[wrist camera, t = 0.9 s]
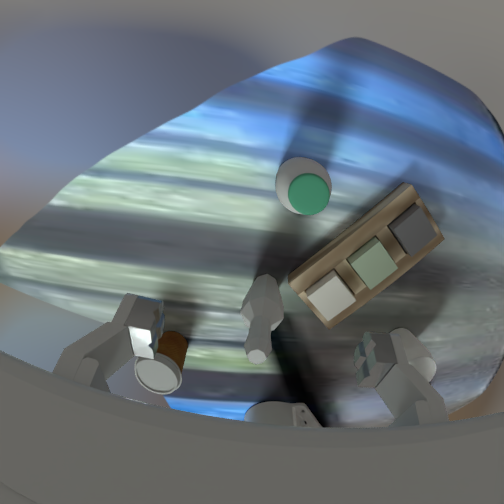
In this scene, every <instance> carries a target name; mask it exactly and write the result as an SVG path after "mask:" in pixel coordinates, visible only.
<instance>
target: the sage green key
mask: <svg viewBox="0 0 504 504" xmlns="http://www.w3.org/2000/svg"><path fill="white" fill-rule="evenodd" d="M347 259H348V261H349V262H350V264H351V265H352V267H353V268H354V269H355V271H356V272H357V273H358V274H359V276H360V277H361V278H362V280H363V281H364V282H365V284H366V285H367V286H368V288H369V289H370V290H371V289H373V288H374V287H375V286H376V285H378V284H379V283H380V282H382V281H383V280H384V279H385V278H387V277H388V276H389V275H390V274H392V273H393V272H394V271H395V270H397V269H398V267H397V266H396V264H395V263H394V261H393V260H392V258H391V257H390V255H389V254H388V253H387V251H386V250H385V248H384V247H383V245H382V244H381V243H380V241H379V240H378V239H377V238H376V237H375V236H374V237H372V238H371V239H370V240H369V241H367V242H366V243H365V244H364V245H362V246H361V247H360V248H359V249H357V250H356V251H355V252H354V253H352V254H351V255H350V256H349V257H347Z"/></svg>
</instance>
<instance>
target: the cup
mask: <svg viewBox="0 0 504 504" xmlns="http://www.w3.org/2000/svg"><path fill="white" fill-rule="evenodd" d="M390 333H392V334H399V335H400V336H401V340H402V343H403V346H404V350H405V353H406V356H407V360H408V363H409V364H411V365H412V366H413V367H414V368H415V369H416V370H417V371H418V372H419V373H420V374H421V375H422V376H423V377H424V378H425V379H426V380H427V382H428V383H429V382H430V381H431V380H432V378H433V377H434V375H435V372H436V363H435V361H434V359H433V357H432V355H431V353H430V352H429V350H428V349H427V348H426V347H425V346H424V345H423V344H422V343H421V342H420V341H419V340H418V339H417V338H416V337H415V336H414V335H413V334H412V333H411V332H410V331H409V330H408V329H405V328H398V329H395V330H393V331H391V332H390Z"/></svg>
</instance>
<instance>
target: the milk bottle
mask: <svg viewBox="0 0 504 504" xmlns="http://www.w3.org/2000/svg"><path fill="white" fill-rule="evenodd" d="M275 187H276V192H277V196H278V198H279V200H280V202H281V203H282V204H283V205H284V206H285V207H286V208H287V209H289V210H290V211H292V212H294V213H298V214H305V215H313V214H317V213H319V212H321V211H322V210H323V209H324V208H325V207H326V205H327V204H328V201H329V198H330V195H331V189H332V185H331V179H330V176H329V174H328V172H327V171H326V169H325V168H324V167H323V166H322V165H320V164H319V163H318V162H316V161H314V160H312V159H308V158H304V157H294V158H291V159H289V160H287V161H285V162H284V163H283V164H282V165H281V166H280V168H279V170H278V172H277V175H276V182H275Z"/></svg>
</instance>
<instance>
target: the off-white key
mask: <svg viewBox="0 0 504 504" xmlns="http://www.w3.org/2000/svg"><path fill="white" fill-rule="evenodd" d="M306 294H307V298H308V299H309V300H310V301H311V303H312V304H313V305H314V306H315V307H316V308H317V309H318V310H319V312H320V313H321V314H322V315H323V316H324V317H325V318H326V320H327V321H329V320H331V319H332V318H333V317H335V316H336V315H338V314H339V313H340V312H342V311H343V310H344V309H346V308H347V307H349V306H350V305H351V304H353V303H354V302H355V301H356V299H355V297H354V295H353V293H352V291H351V289H350V288H349V287H348V286H347V284H346V283H345V282H344V281H343V279H342V278H341V277H340V276H339V275H338V273H337V272H336V271H335V270H334V268H333V269H332V270H331V271H329V272H328V273H327V274H325V275H324V276H323V277H322V278H320V279H319V280H318V281H316V282H315V283H314V284H312V285H311V286H310V287H308V288H307V289H306Z"/></svg>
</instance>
